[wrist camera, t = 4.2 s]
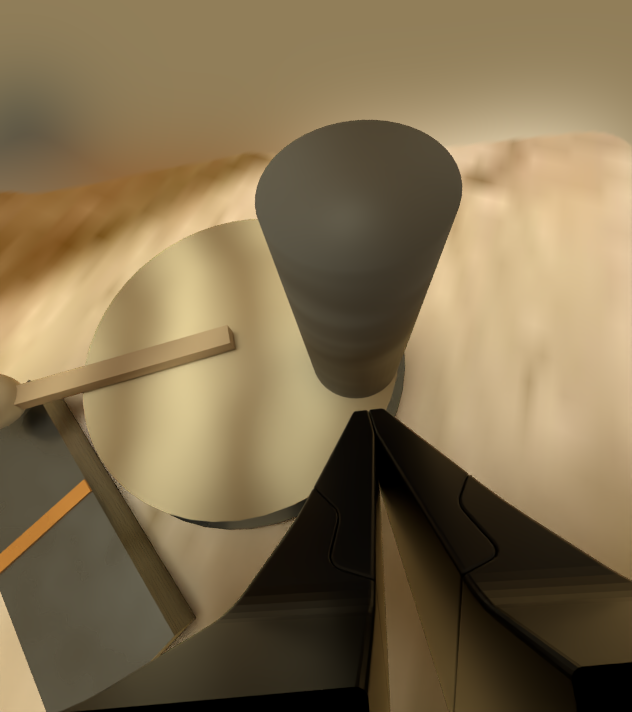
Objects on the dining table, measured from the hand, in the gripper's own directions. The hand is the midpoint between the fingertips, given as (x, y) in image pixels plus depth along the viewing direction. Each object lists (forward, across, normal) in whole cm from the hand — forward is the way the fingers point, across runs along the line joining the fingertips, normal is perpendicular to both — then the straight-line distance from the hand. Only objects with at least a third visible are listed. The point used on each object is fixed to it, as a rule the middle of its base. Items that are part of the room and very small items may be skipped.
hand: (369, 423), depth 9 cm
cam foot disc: (+8, +8, +1) cm, 11 cm away
